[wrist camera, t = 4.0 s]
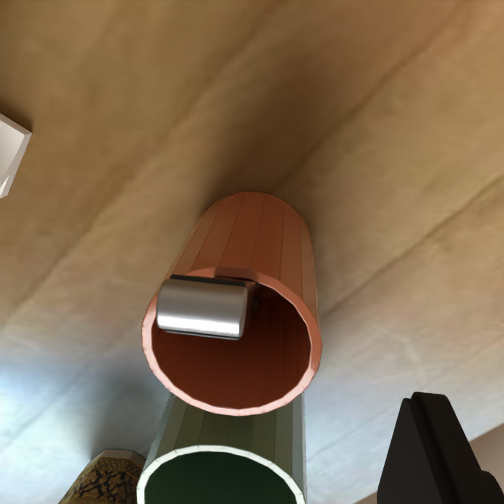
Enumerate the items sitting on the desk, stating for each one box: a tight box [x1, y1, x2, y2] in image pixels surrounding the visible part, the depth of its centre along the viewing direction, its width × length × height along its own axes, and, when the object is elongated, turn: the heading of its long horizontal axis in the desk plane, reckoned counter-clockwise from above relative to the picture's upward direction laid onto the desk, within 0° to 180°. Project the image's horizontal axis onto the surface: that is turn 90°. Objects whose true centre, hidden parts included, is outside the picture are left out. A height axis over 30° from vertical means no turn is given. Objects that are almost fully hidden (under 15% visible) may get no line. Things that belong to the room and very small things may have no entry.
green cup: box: [136, 391, 307, 504], centre depth 29 cm, size 10×10×11 cm
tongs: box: [156, 274, 262, 340], centre depth 20 cm, size 2×10×18 cm, turn 176°
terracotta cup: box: [141, 192, 322, 416], centre depth 25 cm, size 8×8×11 cm
